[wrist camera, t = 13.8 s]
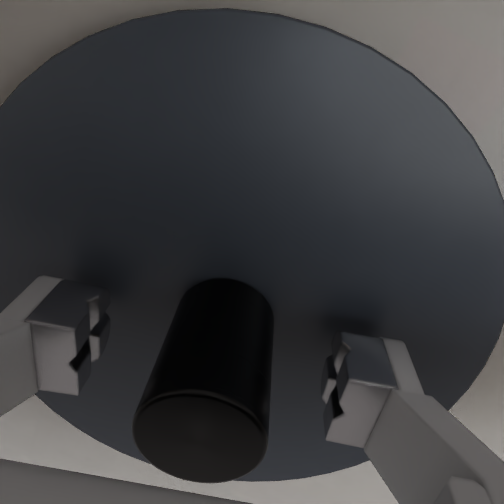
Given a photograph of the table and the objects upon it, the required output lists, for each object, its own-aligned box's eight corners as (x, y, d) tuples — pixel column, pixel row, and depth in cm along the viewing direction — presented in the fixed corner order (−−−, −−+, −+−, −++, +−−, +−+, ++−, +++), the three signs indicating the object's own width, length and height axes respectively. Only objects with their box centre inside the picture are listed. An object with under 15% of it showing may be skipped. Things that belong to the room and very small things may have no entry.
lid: (19, 411, 14) (-90, 565, 10) (-55, -48, 8) (-428, -135, 4) (389, 477, 14) (430, 656, 10) (606, 79, 8) (942, 127, 4)
